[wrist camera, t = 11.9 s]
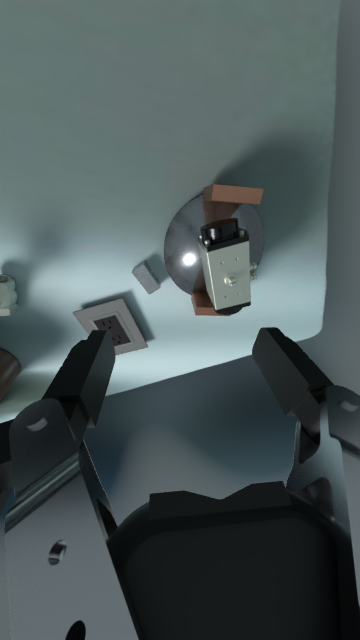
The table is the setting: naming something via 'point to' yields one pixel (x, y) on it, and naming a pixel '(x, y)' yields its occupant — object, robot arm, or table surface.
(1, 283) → the valve
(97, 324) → the electrical outlet
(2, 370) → the plant pot
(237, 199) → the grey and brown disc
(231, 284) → the pneumatic valve
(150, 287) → the grey rectangular block
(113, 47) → the table surface
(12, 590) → the robot arm
